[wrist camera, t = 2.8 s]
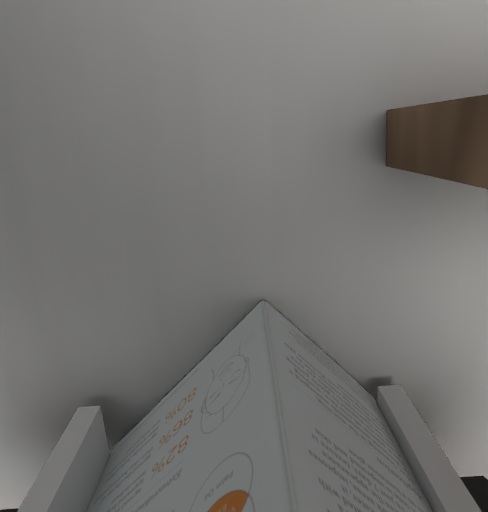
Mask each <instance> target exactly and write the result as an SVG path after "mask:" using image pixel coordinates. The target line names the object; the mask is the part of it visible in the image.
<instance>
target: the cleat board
mask: <svg viewBox="0 0 488 512" xmlns="http://www.w3.org/2000/svg"><path fill="white" fill-rule="evenodd" d="M386 166H389V167H393V168H398V169H402V170H406V171H411V172H415V173H420V174H424V175H429V176H433V177H438V178H442V179H446V180H451V181H455V182H460V183H464V184H469V185H473V186H478V187H482V188H486V189H488V95H481V96H475V97H468V98H462V99H456V100H449V101H443V102H436V103H430V104H423V105H417V106H410V107H404V108H397V109H391V110H387V153H386Z"/></svg>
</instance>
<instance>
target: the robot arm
mask: <svg viewBox="0 0 488 512" xmlns="http://www.w3.org/2000/svg"><path fill="white" fill-rule="evenodd" d="M378 407H379V409H380V410H381V412H382V414H383V416H384V418H385V420H386V421H387V423H388V425H389V427H390V429H391V431H392V433H393V435H394V437H395V439H396V441H397V442H398V444H399V446H400V448H401V450H402V452H403V454H404V456H405V458H406V460H407V462H408V464H409V466H410V468H411V470H412V472H413V474H414V476H415V478H416V480H417V481H418V483H419V485H420V487H421V489H422V491H423V493H424V495H425V497H426V499H427V501H428V503H429V505H430V507H431V508H432V510H433V512H488V480H487V479H486V478H485V477H484V476H472V477H459V475H458V474H457V472H456V471H455V469H454V468H453V466H452V465H451V463H450V461H449V460H448V458H447V457H446V455H445V454H444V452H443V451H442V449H441V447H440V446H439V444H438V443H437V441H436V440H435V438H434V436H433V435H432V433H431V432H430V430H429V429H428V427H427V426H426V424H425V422H424V421H423V419H422V418H421V416H420V415H419V413H418V411H417V410H416V408H415V407H414V405H413V404H412V402H411V401H410V399H409V397H408V396H407V394H406V393H405V391H404V390H403V388H402V387H401V385H388V386H378ZM109 457H110V453H109V448H108V442H107V437H106V432H105V427H104V422H103V416H102V411H101V406H88V407H78V408H77V410H76V412H75V414H74V415H73V417H72V419H71V420H70V422H69V424H68V426H67V427H66V429H65V431H64V432H63V434H62V436H61V437H60V439H59V441H58V443H57V444H56V446H55V448H54V449H53V451H52V453H51V455H50V456H49V458H48V460H47V461H46V463H45V465H44V466H43V468H42V470H41V472H40V473H39V475H38V477H37V478H36V480H35V482H34V484H33V485H32V487H31V489H30V490H29V492H28V494H27V496H26V497H25V499H24V501H23V502H22V504H21V506H20V507H19V509H4V510H0V512H87V509H88V507H89V505H90V502H91V500H92V497H93V495H94V492H95V490H96V488H97V486H98V483H99V481H100V478H101V476H102V473H103V471H104V469H105V466H106V464H107V461H108V459H109Z"/></svg>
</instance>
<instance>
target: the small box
mask: <svg viewBox="0 0 488 512" xmlns="http://www.w3.org/2000/svg"><path fill="white" fill-rule="evenodd" d="M87 512H433V510H432V508H431V507H430V505H429V503H428V501H427V499H426V497H425V495H424V493H423V491H422V489H421V487H420V485H419V483H418V481H417V480H416V478H415V476H414V474H413V472H412V470H411V468H410V466H409V464H408V462H407V460H406V458H405V456H404V454H403V452H402V450H401V448H400V446H399V444H398V442H397V441H396V439H395V437H394V435H393V433H392V431H391V429H390V427H389V425H388V423H387V421H386V420H385V418H384V416H383V414H382V412H381V410H380V409H379V407H378V405H377V403H376V401H375V399H374V398H373V396H372V395H371V394H370V393H368V392H367V391H366V390H365V389H364V388H363V387H362V386H361V385H360V384H359V383H358V382H356V381H355V380H354V379H353V378H352V377H351V376H350V375H349V374H348V373H347V372H345V371H344V370H343V369H342V368H341V367H340V366H339V365H338V364H337V363H335V362H334V361H333V360H332V359H331V358H330V357H329V356H328V355H326V354H325V353H324V352H323V351H322V350H321V349H320V348H319V347H317V346H316V345H315V344H314V343H313V342H312V341H311V340H310V339H308V338H307V337H306V336H305V335H304V334H303V333H302V332H301V331H300V330H298V329H297V328H296V327H295V326H294V325H293V324H292V323H291V322H290V321H288V320H287V319H286V318H285V317H284V316H283V315H281V314H280V313H279V312H278V311H277V310H276V309H274V308H273V307H272V306H271V305H270V304H269V303H268V302H266V301H261V302H259V303H258V304H257V306H256V307H255V308H254V309H253V310H252V311H251V312H250V313H249V314H248V315H247V316H246V317H245V318H244V319H243V320H242V321H241V322H240V323H239V324H238V325H237V326H236V327H235V328H234V329H233V330H232V331H231V332H230V333H229V334H228V335H227V336H226V337H225V338H224V339H223V340H222V341H221V342H220V343H219V344H218V345H217V346H216V347H215V348H214V349H213V350H212V351H211V352H210V353H209V354H208V355H207V356H206V357H205V358H204V359H203V360H202V361H201V362H200V363H199V364H198V365H197V366H196V367H194V368H193V369H192V370H191V371H190V372H189V373H188V374H187V375H186V376H185V377H184V378H183V379H182V380H181V381H180V382H179V383H178V384H177V385H176V386H175V387H174V388H173V389H172V390H171V391H170V392H169V393H168V394H167V395H166V396H165V397H164V398H163V399H162V400H161V401H160V402H159V403H158V404H157V405H156V406H155V407H154V408H153V409H152V410H151V411H150V412H149V413H148V414H147V415H146V416H145V417H144V418H143V419H142V420H141V421H140V422H139V423H138V424H137V425H136V426H135V427H134V428H133V429H132V430H131V431H130V432H129V433H128V434H127V435H126V436H125V437H124V438H123V439H122V440H121V441H119V442H118V443H117V444H116V445H115V446H114V448H113V450H112V452H111V454H110V457H109V459H108V461H107V464H106V466H105V469H104V471H103V473H102V476H101V478H100V481H99V483H98V486H97V488H96V490H95V492H94V495H93V497H92V500H91V502H90V505H89V507H88V509H87Z"/></svg>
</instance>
